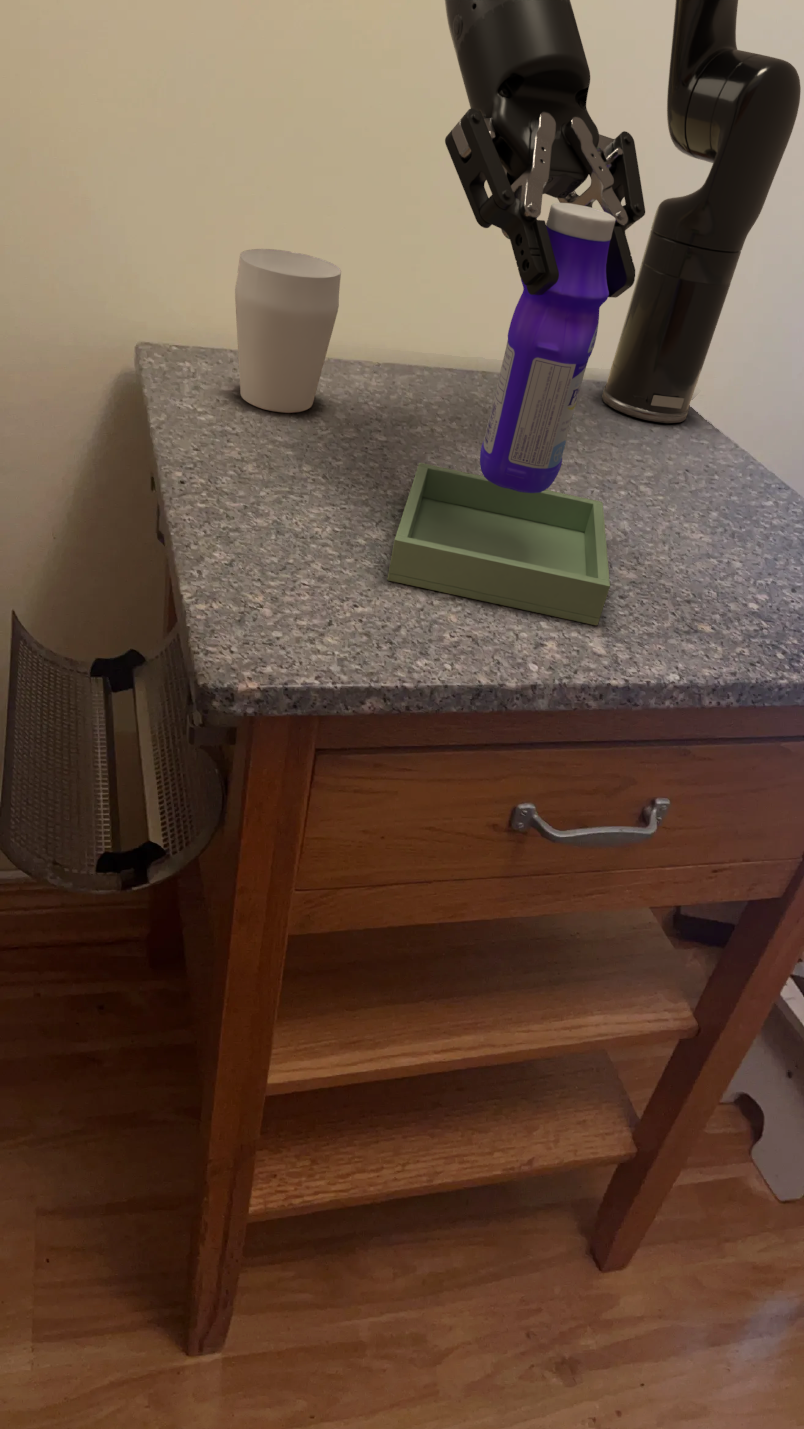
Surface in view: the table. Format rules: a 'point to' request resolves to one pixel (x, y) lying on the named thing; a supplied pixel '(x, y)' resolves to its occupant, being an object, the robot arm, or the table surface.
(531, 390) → the bottle
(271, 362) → the cup
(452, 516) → the tray
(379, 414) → the table surface
